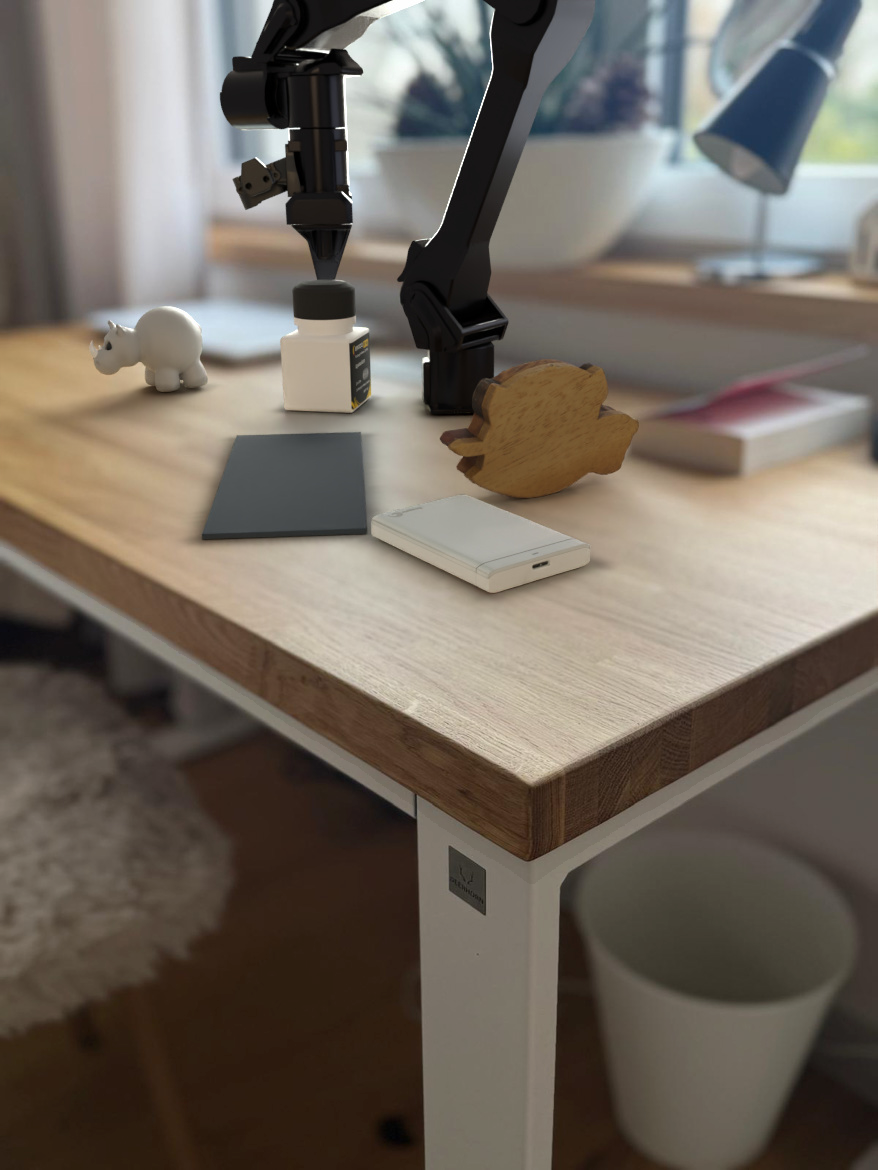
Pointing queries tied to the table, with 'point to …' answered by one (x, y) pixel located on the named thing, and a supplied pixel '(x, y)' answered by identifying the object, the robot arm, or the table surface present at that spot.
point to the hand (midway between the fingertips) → (325, 292)
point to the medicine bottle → (325, 350)
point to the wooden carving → (541, 429)
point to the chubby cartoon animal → (156, 349)
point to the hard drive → (480, 542)
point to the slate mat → (290, 487)
